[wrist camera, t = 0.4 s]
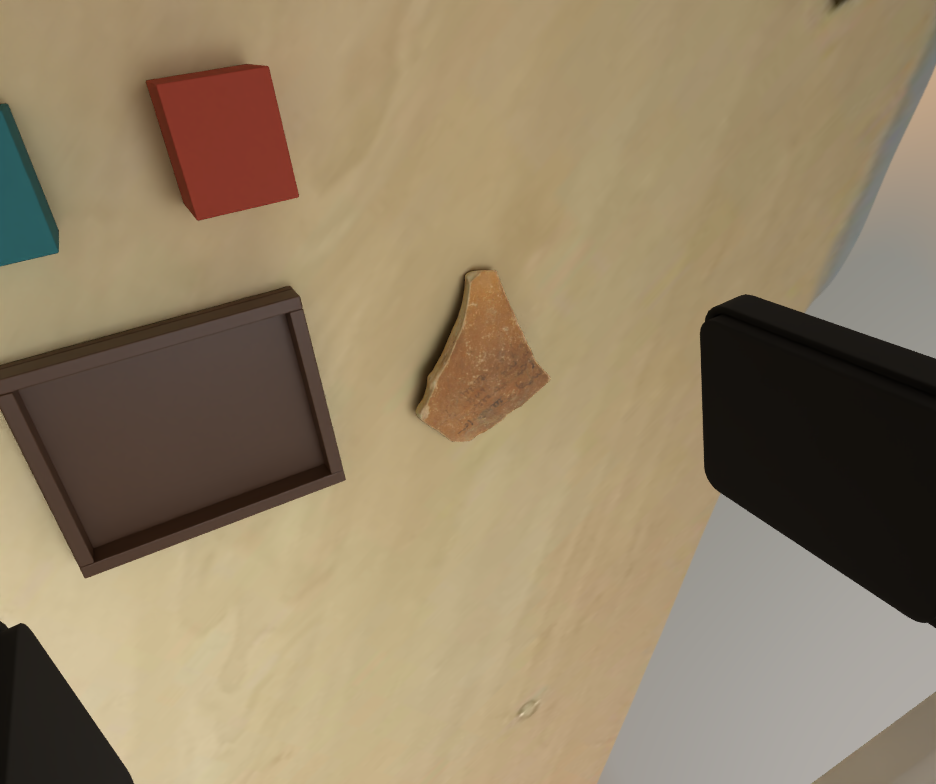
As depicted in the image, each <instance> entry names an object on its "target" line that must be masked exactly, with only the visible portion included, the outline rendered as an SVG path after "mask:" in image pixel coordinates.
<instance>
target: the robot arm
mask: <svg viewBox="0 0 936 784" xmlns="http://www.w3.org/2000/svg"><path fill="white" fill-rule="evenodd" d="M700 347H701V378H702V410H703V441H704V468H705V473H706V476H707V478H708V480H709V482H710V483H711V485H712V486H713V487H714V488H715V489H716V490H717V491H719V492H720V493H722V494H723V495H725V496H726V497H728V498H729V499H731V500H732V501H734V502H735V503H737V504H738V505H740V506H741V507H743V508H744V509H746V510H747V511H749V512H750V513H752V514H753V515H755V516H756V517H758V518H759V519H761V520H762V521H764V522H765V523H767V524H768V525H770V526H771V527H773V528H774V529H776V530H777V531H779V532H780V533H782V534H783V535H785V536H787V537H788V538H790V539H791V540H793V541H794V542H796V543H797V544H799V545H800V546H802V547H803V548H805V549H806V550H808V551H809V552H811V553H812V554H814V555H815V556H817V557H818V558H820V559H821V560H823V561H824V562H826V563H827V564H829V565H830V566H832V567H834V568H835V569H837V570H838V571H840V572H841V573H842V574H844V575H845V576H847V577H849V578H850V579H852V580H853V581H854V582H856V583H858V584H859V585H861V586H862V587H864V588H865V589H867V590H868V591H870V592H871V593H873V594H874V595H876V596H877V597H879V598H880V599H882V600H883V601H885V602H886V603H888V604H889V605H891V606H892V607H894V608H896V609H897V610H898V611H900V612H901V613H903V614H904V615H906V616H908V617H909V618H911V619H913V620H915V621H917V622H921V623H929V624H930V625H932V626H934V627H935V628H936V359H935V358H932V357H929V356H926V355H923V354H920V353H917V352H915V351H912V350H909V349H906V348H903V347H900V346H897V345H894V344H891V343H889V342H886V341H883V340H880V339H877V338H874V337H871V336H868V335H865V334H863V333H859V332H857V331H854V330H851V329H848V328H845V327H842V326H839V325H836V324H834V323H831V322H828V321H825V320H822V319H819V318H816V317H813V316H810V315H808V314H805V313H802V312H799V311H796V310H793V309H790V308H787V307H784V306H782V305H779V304H776V303H773V302H770V301H767V300H764V299H761V298H758V297H756V296H753V295H746V294H745V295H741V296H738V297H736V298H734V299H732V300H729V301H727V302H725V303H722V304H720V305H718V306H715V307H713V308H712V309H711V310H709V311H708V313H707V315H706V318H705V323H703V324H702V327H701V330H700ZM0 784H134V783H133V780H132V778H131V776H130V774H129V772H128V770H127V768H126V767H125V766H124V764H123V763H122V761H121V760H120V758H119V757H118V755H117V754H116V753H115V751H114V750H113V748H112V747H111V745H110V744H109V742H108V741H107V739H106V738H105V737H104V735H103V734H102V732H101V731H100V729H99V728H98V726H97V725H96V724H95V722H94V721H93V719H92V718H91V716H90V715H89V713H88V712H87V710H86V709H85V708H84V706H83V705H82V703H81V702H80V700H79V699H78V697H77V696H76V694H75V693H74V692H73V690H72V689H71V687H70V686H69V684H68V683H67V681H66V680H65V679H64V677H63V676H62V674H61V673H60V671H59V670H58V668H57V667H56V665H55V664H54V663H53V661H52V660H51V658H50V657H49V655H48V654H47V652H46V651H45V650H44V648H43V647H42V645H41V644H40V642H39V641H38V639H37V638H36V636H35V635H34V634H33V632H32V631H31V630H30V628H29V627H28V626H26V625H25V624H22V623H20V624H18V625H15V626H13V627H11V628H9V629H8V628H7V626H6V625H5V624H3V623H2V622H1V621H0ZM812 784H936V692H935V693H933V694H932V695H931V696H929V697H928V698H926V699H925V700H924V701H922V702H921V703H920V704H919V705H917V706H916V707H914V708H913V709H912V710H910V711H909V712H908V713H906V714H905V715H904V716H902V717H901V718H900V719H898V720H897V721H895V722H894V723H893V724H891V725H890V726H889V727H887V728H886V729H885V730H883V731H882V732H881V733H879V734H878V735H877V736H875V737H874V738H872V739H871V740H870V741H868V742H867V743H866V744H864V745H863V746H862V747H860V748H859V749H858V750H856V751H855V752H854V753H852V754H851V755H850V756H848V757H847V758H845V759H844V760H843V761H841V762H840V763H839V764H837V765H836V766H835V767H833V768H832V769H831V770H829V771H828V772H827V773H825V774H824V775H822V776H821V777H820V778H818V779H817V780H816V781H814V782H813V783H812Z"/></svg>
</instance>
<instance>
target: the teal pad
mask: <svg viewBox="0 0 936 784" xmlns="http://www.w3.org/2000/svg"><path fill="white" fill-rule="evenodd" d="M58 252H59V230H58V228H57V225H56V223H55V220H54V218H53V215H52V213H51V210H50V208H49V205H48V203H47V200H46V198H45V195H44V193H43V190H42V188H41V185H40V183H39V180H38V178H37V175H36V173H35V170H34V168H33V165H32V163H31V160H30V158H29V155H28V153H27V150H26V148H25V145H24V143H23V140H22V138H21V135H20V133H19V130H18V128H17V125H16V123H15V120H14V118H13V115H12V113H11V110H10V108H9V105H8V104H6V103H4V104H0V266H4V265H8V264H12V263H17V262H21V261H25V260H30V259H34V258H38V257H43V256H47V255H51V254H56V253H58Z"/></svg>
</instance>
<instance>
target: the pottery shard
mask: <svg viewBox="0 0 936 784" xmlns="http://www.w3.org/2000/svg"><path fill="white" fill-rule="evenodd" d="M550 379H551V377H550V376H549V375H548V374H547V373H546V372H545V371H544V370H543V369H542V368H541V367H540V366H539V364H538V363H537V362H536V360H535V358H534V357H533V353H532V351H531V348H530V347H529V346H528V343H527V341H526V339H525V337H524V334H523V332H522V330H521V328H520V327H519V325H518V322H517V319H516V316H515V314H514V312H513V310H512V308H511V306H510V304H509V301H508V299H507V297H506V294H505V292H504V289H503V287H502V284H501V282H500V279H499V277H498V274H497V271H496V270H494V271H493V270H481V271H470V272H468V273H467V274H466V275H465V289H464V295H463V301H462V306H461V309H460V312H459V315H458V318H457V320H456V323H455V325H454V327H453V329H452V332H451V334H450V336H449V338H448V341H447V343H446V345H445V348H444V350H443V352H442V354H441V357H440V358H439V360H438V362H437V364H436V365H435V367H434V369H433V371H432V372H431V373H430V374H429V375H428V377H427V388H426V391H425V394H424V397H423V399H422V401H421V402H420V403H419V405H418V407H417V409H416V415H417V416H418V418H420V419H421V420H422V421H424V422H425V423H426V424H428V425H430V426H431V427H433V428H434V429H436V430H437V431H439V432H440V433H442V434H443V435H444V436H446V437H447V438H448V439H450V440H451V441H452V442H465V441H470V440H472V439H474V438H475V437H476V436H477V435H479V434H481V433H483V432H485V431H487V430H488V429H490V428H492V427H493V426H494V425H496V424H497V423H499V422H500V421H502V420H503V419H504V418H505V417H506V416H507V415H508V414H509V413H510V412H512V411H513V410H515V409H517V408H518V407H520V406H522V405H523V404H524V403H525V402H526V401H528V400H529V399H530V398H531V397H532V396H533V395H534V394H536V393H537V392H538V391H539V390H540V389H541V388H542V387H543V386H545V385H546V384H547V383H548V382H549V381H550Z"/></svg>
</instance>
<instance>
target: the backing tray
mask: <svg viewBox="0 0 936 784" xmlns="http://www.w3.org/2000/svg"><path fill="white" fill-rule="evenodd" d="M0 409H1V411H2V413H3V415H4V417H5V419H6V421H7V423H8V425H9V427H10V429H11V431H12V433H13V435H14V437H15V439H16V441H17V443H18V445H19V447H20V449H21V451H22V453H23V455H24V457H25V459H26V461H27V463H28V465H29V467H30V469H31V471H32V473H33V475H34V477H35V479H36V481H37V483H38V485H39V487H40V489H41V491H42V493H43V495H44V497H45V499H46V501H47V503H48V505H49V507H50V509H51V511H52V513H53V515H54V517H55V519H56V521H57V523H58V525H59V527H60V529H61V531H62V533H63V535H64V537H65V539H66V541H67V543H68V545H69V547H70V549H71V551H72V553H73V555H74V557H75V559H76V561H77V563H78V565H79V567H80V570H81V572H82V574H83V576H84V578H88V577H91V576H94V575H96V574H99V573H101V572H104V571H107V570H109V569H112V568H115V567H117V566H120V565H123V564H125V563H128V562H131V561H133V560H136V559H138V558H141V557H144V556H146V555H149V554H152V553H154V552H157V551H160V550H162V549H165V548H168V547H170V546H173V545H175V544H178V543H181V542H183V541H186V540H189V539H191V538H194V537H197V536H199V535H202V534H205V533H207V532H210V531H212V530H215V529H218V528H220V527H223V526H226V525H228V524H231V523H234V522H236V521H239V520H242V519H244V518H247V517H249V516H252V515H255V514H257V513H260V512H263V511H265V510H268V509H271V508H273V507H276V506H279V505H281V504H284V503H286V502H289V501H292V500H294V499H297V498H300V497H302V496H305V495H308V494H310V493H313V492H316V491H318V490H321V489H323V488H326V487H329V486H331V485H334V484H337V483H339V482H342V481H345V480H346V479H345V475H344V471H343V467H342V463H341V459H340V455H339V451H338V447H337V443H336V439H335V435H334V431H333V427H332V423H331V419H330V415H329V411H328V407H327V403H326V399H325V395H324V391H323V387H322V383H321V379H320V375H319V371H318V367H317V363H316V359H315V355H314V351H313V347H312V343H311V339H310V335H309V331H308V327H307V323H306V319H305V315H304V311H303V309H302V303H301V299H300V296H299V295H298V294H297V293H296V292H295V291H294V290H293V289H292V288H291V287H290V286H289V287H285V288H281V289H278V290H274V291H270V292H267V293H263V294H259V295H256V296H252V297H248V298H245V299H241V300H237V301H234V302H230V303H227V304H223V305H219V306H216V307H212V308H208V309H205V310H201V311H197V312H194V313H190V314H186V315H183V316H179V317H175V318H172V319H168V320H164V321H161V322H157V323H154V324H150V325H146V326H143V327H139V328H135V329H132V330H128V331H124V332H121V333H117V334H113V335H110V336H106V337H102V338H99V339H95V340H91V341H88V342H84V343H81V344H77V345H73V346H70V347H66V348H62V349H59V350H55V351H51V352H48V353H44V354H40V355H37V356H33V357H29V358H26V359H22V360H18V361H15V362H11V363H7V364H4V365H0Z"/></svg>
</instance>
